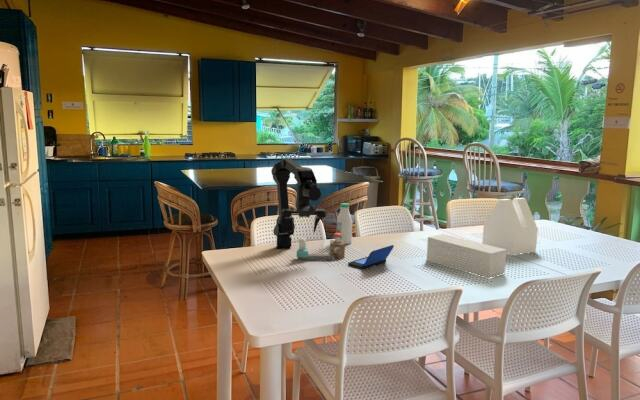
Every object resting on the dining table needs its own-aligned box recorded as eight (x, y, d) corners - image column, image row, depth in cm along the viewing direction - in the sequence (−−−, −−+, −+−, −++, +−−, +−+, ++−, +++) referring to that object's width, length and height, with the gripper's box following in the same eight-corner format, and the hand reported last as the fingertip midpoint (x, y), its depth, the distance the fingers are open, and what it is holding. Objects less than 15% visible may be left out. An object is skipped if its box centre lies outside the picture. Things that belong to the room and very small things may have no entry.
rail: (297, 260, 218) (297, 255, 218) (297, 258, 221) (297, 253, 221) (333, 260, 219) (334, 255, 219) (333, 258, 222) (333, 254, 221)
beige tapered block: (482, 246, 249) (485, 196, 244) (504, 243, 255) (508, 195, 251) (512, 255, 232) (516, 203, 227) (535, 252, 238) (540, 201, 234)
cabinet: (331, 257, 223) (331, 244, 222) (330, 252, 231) (330, 240, 230) (344, 257, 223) (344, 244, 222) (343, 252, 231) (343, 240, 230)
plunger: (334, 245, 225) (334, 234, 224) (333, 243, 228) (333, 232, 227) (341, 245, 225) (341, 234, 224) (340, 243, 228) (340, 233, 227)
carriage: (296, 257, 217) (296, 240, 216) (296, 253, 222) (296, 237, 221) (307, 257, 217) (308, 240, 216) (307, 253, 222) (308, 237, 221)
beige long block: (426, 260, 222) (427, 237, 220) (442, 256, 228) (443, 234, 227) (488, 279, 197) (490, 253, 195) (504, 275, 203) (506, 249, 201)
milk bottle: (351, 241, 254) (352, 202, 250) (351, 244, 246) (352, 205, 243) (336, 240, 254) (337, 201, 251) (335, 244, 247) (336, 204, 243)
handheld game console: (370, 259, 223) (370, 238, 221) (394, 265, 214) (395, 244, 212) (346, 265, 212) (347, 244, 210) (371, 273, 203) (371, 251, 201)
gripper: (282, 200, 207) (282, 236, 210) (326, 200, 208) (326, 236, 211) (282, 196, 218) (282, 230, 221) (324, 196, 219) (324, 230, 222)
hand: (303, 232), depth 218 cm, fingers open, 9 cm apart
